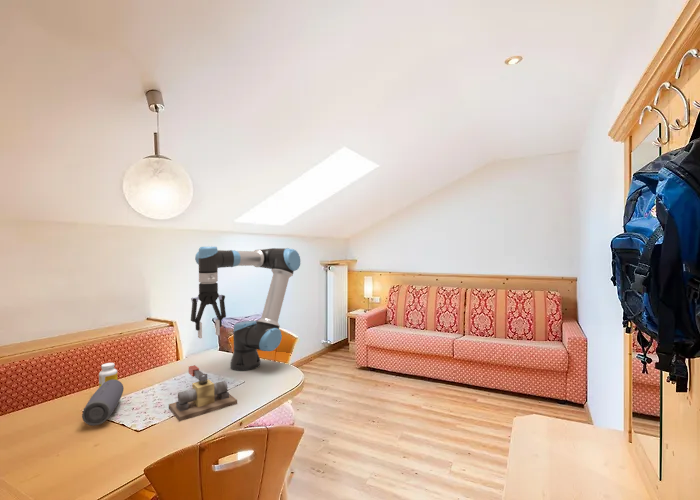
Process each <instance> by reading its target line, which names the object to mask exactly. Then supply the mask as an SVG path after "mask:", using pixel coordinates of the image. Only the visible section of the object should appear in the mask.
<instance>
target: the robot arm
mask: <svg viewBox="0 0 700 500" xmlns="http://www.w3.org/2000/svg"><path fill="white" fill-rule="evenodd" d="M195 262H196V264H197V265H198V295H197V296H196V297H191V298H190V299H191V303H192V304H191V314H190V321H191V322H192V323H195V331H197V339H198V338H199V339H203V323H202V322H201V320H202V317H203V314H204V312H205V309H206V307H207V306H209V305H211V306H212V308H213V311H214V313H215V316H216V319H215V335H216V336H220V335H221V333H220V332H221V330H220V329H221V328H222V324H223V323H222V322H223V320H224V318H226V317H227V313H226V306H225V298H226V296H225V295H224V294H219V287H218V286H219V285H218V279H219V278H218V277H219V276H218V274H219V273H218V271H219V269H221V268H233V267H240V266H241V267H243V266H245V267H246V266H252V267H254V268H264V269H267V270H268V269H269V270H271V272H272V276H271V277H272V278H271V282H270V284H269V288H268V292H267V296H266V299H265V303H264V307H263V310H262V313H261V318H260V319H258V320H257V321H256V320H246V321H241V322H236V323H235V324H234V325H233V334H232V335H233V354H232V356H231V360H230V369H231V370H233V371H240V372H241V371H242V372H244V371H251V370H255V369H257V368H260V366H261V359H260V356H259V353H258V350H260V351H262V352H273V351H275V349H277V348H278V347H279V346H280V344H281V342H282V337H283V335H282V331H281V329H280V324H279V318H280V314H281V310H282V308H283V302H284V300H285V295H286V291H287V287H288V284H289V279H290V278H291V277H293V275H294V272H295V271H298V270H299V269H300V267H301V256H300V253H299V252H298V251H297V249H293V248H290V247H289V248H288V247H287V248H275V247H274V248H263V249H255V250H253V251H251V250H249V251H248V250H235V249H234V250H232V249H228V250H221V249H220V250H219V249H218V247H217V246H199V249H198V251H197V252H196V254H195ZM217 300H218V301H219V307H218V303H217ZM199 301H200V304H199V308H198V302H199ZM219 308H220V310H219ZM197 310H198V311H197Z"/></svg>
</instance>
